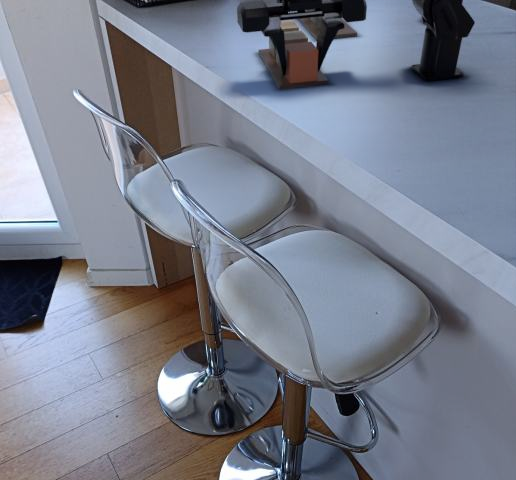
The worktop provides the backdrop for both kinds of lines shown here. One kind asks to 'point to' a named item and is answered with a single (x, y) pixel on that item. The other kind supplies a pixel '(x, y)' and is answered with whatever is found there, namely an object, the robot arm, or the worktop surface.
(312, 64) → the letter block
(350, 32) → the dark wooden base plate
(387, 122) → the worktop surface
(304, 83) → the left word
